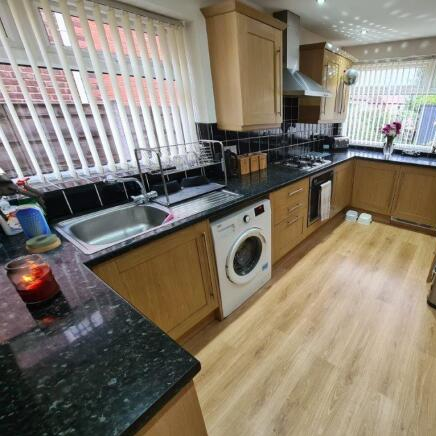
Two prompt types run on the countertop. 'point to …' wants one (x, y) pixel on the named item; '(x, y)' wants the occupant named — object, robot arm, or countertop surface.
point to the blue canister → (31, 220)
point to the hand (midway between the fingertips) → (27, 214)
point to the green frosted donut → (42, 243)
